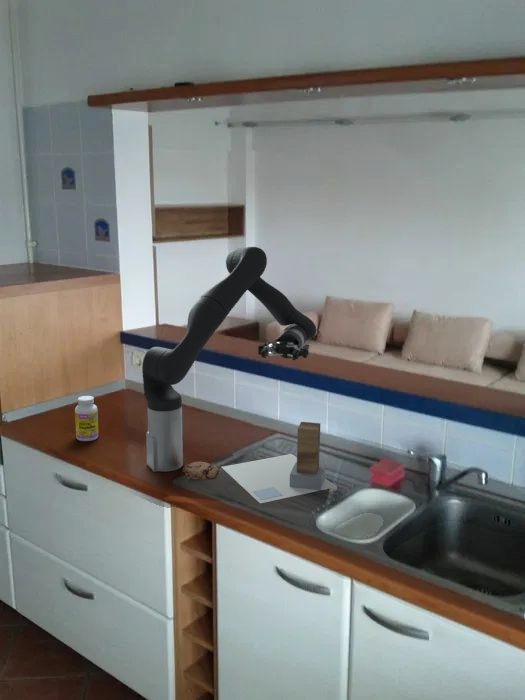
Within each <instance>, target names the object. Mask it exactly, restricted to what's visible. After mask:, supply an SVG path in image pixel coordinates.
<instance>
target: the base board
mask: <svg viewBox="0 0 525 700" xmlns="http://www.w3.org/2000/svg"><path fill="white" fill-rule="evenodd" d="M221 468H222V470H223V471H225V473H227V474H228V475H229V476H230V477H231V478H232V479H233V480H234V481H236V483H237V484H238V485H240V486H241V487H242V489H244V490H245V491H246V492H247V493H249V494H250V496H251V497H253V498H254V499H255V500H256V501H257V502H258V503H259V504H265V503H268V502H273V501H278V500H282V499H283V500H284V499H288V498H292V497H295V496H296V497H297V496H301V495H306V494H310V493H314V492H320V491H324V490H328V489H329V491H328V492H329V493H331V492H335V491H337V490H338V485H336V484H334V483H333V482H332V481H330V480H328V479H327V478H326V468H327V467H326V465H325V464H319V468H318V471H317V473H316V474H307V473H298V472H297V456H295V455H294V454H293V453H289V454H283V455H279V456H273V457H269V458H261V459H257V460H253V461H251V460H250V461H246V462H241V463H236V464H230V465H224V466H221ZM259 507H260V508H264V506H263V505H259Z"/></svg>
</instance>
